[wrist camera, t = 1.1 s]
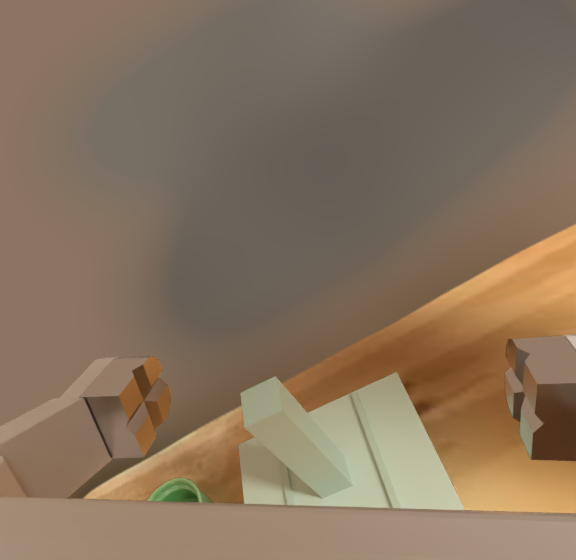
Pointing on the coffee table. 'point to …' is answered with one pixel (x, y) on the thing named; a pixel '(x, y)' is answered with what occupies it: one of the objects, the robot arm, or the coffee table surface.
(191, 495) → the ramekin
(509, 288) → the coffee table surface
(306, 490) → the grooved base with post
